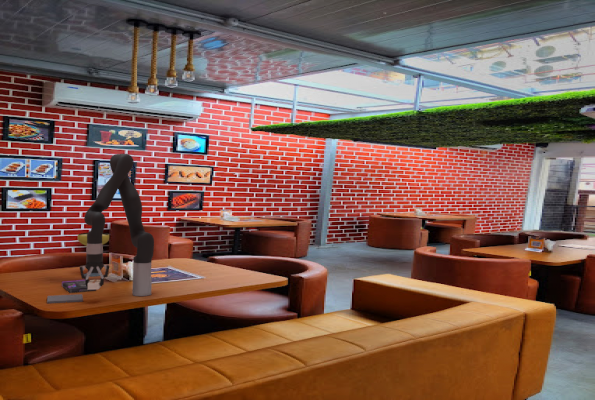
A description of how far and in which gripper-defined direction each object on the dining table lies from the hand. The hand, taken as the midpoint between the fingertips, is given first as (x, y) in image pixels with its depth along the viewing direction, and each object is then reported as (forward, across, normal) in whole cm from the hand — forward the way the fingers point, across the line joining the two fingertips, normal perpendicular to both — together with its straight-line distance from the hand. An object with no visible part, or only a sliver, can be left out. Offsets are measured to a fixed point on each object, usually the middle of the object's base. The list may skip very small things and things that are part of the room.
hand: (94, 286), depth 261 cm
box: (+9, +6, -33) cm, 35 cm away
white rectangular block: (+1, 0, 0) cm, 1 cm away
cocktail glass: (+9, -3, -70) cm, 71 cm away
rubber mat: (+8, +13, -8) cm, 17 cm away
